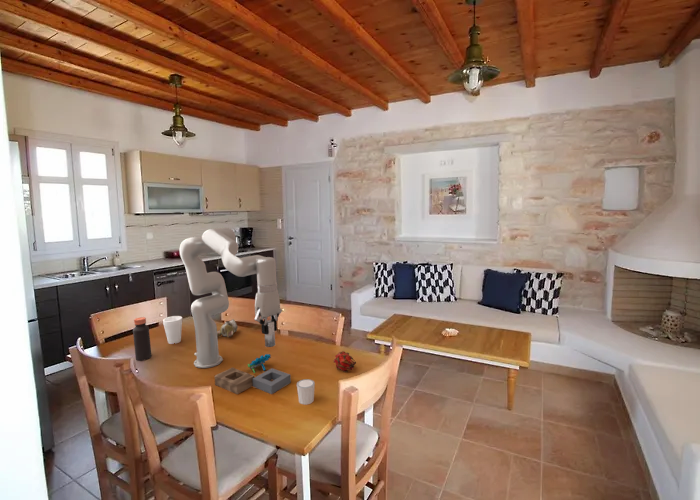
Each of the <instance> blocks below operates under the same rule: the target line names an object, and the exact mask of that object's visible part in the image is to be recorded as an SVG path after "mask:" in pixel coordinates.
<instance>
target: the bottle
mask: <svg viewBox="0 0 700 500" xmlns="http://www.w3.org/2000/svg"><path fill="white" fill-rule="evenodd" d="M133 321H134V322H133V323H134V326H135V327H134V328H133V329H132V333H133V334H132V337H133V343H134V353H135V354H134V355H135V360H136V361H138V362H139V361H141V362H142V361H146V360H149V359H150V358H151V357H152V347H151V336H150V335H151V334H150V327H149V326H148V325H147V318H146V317H144V316H143V317H142V316H141V317H135V318H134V319H133Z"/></svg>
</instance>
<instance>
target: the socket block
mask: <svg viewBox="0 0 700 500" xmlns="http://www.w3.org/2000/svg"><path fill="white" fill-rule="evenodd" d="M291 379H292V376H291V374H290V373H287V372H284V371H282V370H278V369H276V368H269V369H268V370H265V371H263V372H262V373H259V374H258V375H257V376H254V378H253V379H252V382H253V386H252V387H253V388H256V389H258V390H260V391H263V392H265V393H268V394H269V395H273V394H274V393H276V392H279V390H282V388H283V389H284V387H286V386H287V385H290V384H291V382H292V380H291Z"/></svg>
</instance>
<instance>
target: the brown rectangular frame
mask: <svg viewBox="0 0 700 500" xmlns="http://www.w3.org/2000/svg"><path fill="white" fill-rule="evenodd" d="M253 378H255V375H253V374H251V373H248V372H245V371H243V370H240V369H237V368H235V367H230V368H229V369H226V370H223V371H222V372H220V373H217V374H215V375H214V386H217V387H220V388H222V389H224V390H226V391H227V392H228V391H229V392H230V393H233V394H235V395H239V394H241V393H243V392H244V391H247V390H248V389H250V388H251V387H253V382H252V379H253Z"/></svg>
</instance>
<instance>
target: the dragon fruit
mask: <svg viewBox="0 0 700 500" xmlns="http://www.w3.org/2000/svg"><path fill="white" fill-rule="evenodd" d="M333 363H335V367H336V368H335V369H337V370H339V369H340V370H341V371H342V372H343V373H349V371H353V370H354V368H355V367H354V366H356V364H357V361H355V360H354V357H353V356H352V355H350V352H346V351H345V350H342V351H339V352H338V353H337V354H336V355H335V358H333ZM348 370H349V371H348Z"/></svg>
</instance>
